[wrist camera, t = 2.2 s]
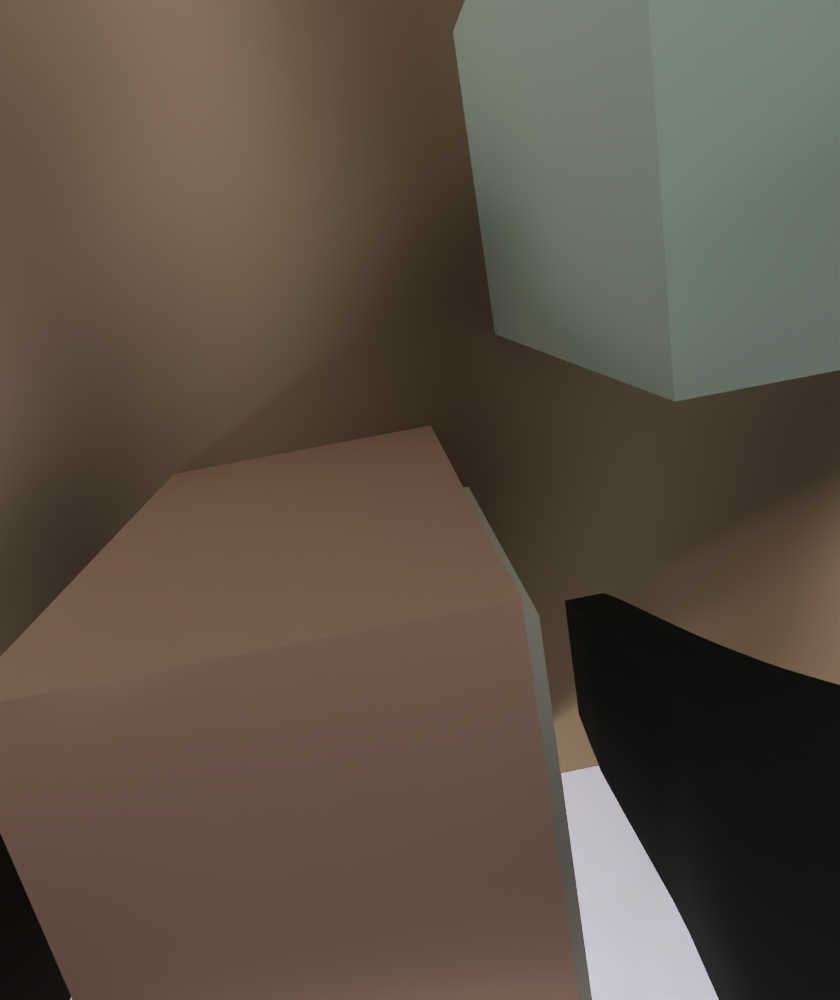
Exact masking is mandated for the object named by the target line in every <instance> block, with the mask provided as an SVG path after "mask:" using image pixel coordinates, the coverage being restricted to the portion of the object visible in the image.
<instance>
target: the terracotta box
mask: <svg viewBox="0 0 840 1000" xmlns="http://www.w3.org/2000/svg"><path fill="white" fill-rule="evenodd" d="M0 833H1V836H2V838H3V840H4V843H5V845H6V847H7V850H8V852H9V854H10V856H11V859H12V861H13V863H14V866H15V868H16V870H17V873H18V875H19V877H20V880H21V882H22V884H23V886H24V889H25V891H26V893H27V896H28V898H29V900H30V903H31V905H32V907H33V909H34V912H35V914H36V916H37V919H38V921H39V923H40V926H41V928H42V930H43V933H44V935H45V937H46V939H47V942H48V944H49V946H50V949H51V951H52V953H53V956H54V958H55V960H56V962H57V965H58V967H59V969H60V972H61V974H62V976H63V979H64V981H65V983H66V986H67V988H68V990H69V992H70V995H71V997H72V999H73V1000H592V998H591V991H590V983H589V976H588V969H587V962H586V954H585V947H584V940H583V932H582V925H581V918H580V910H579V903H578V896H577V888H576V881H575V874H574V867H573V859H572V852H571V845H570V837H569V830H568V823H567V815H566V808H565V801H564V793H563V786H562V779H561V772H560V764H559V757H558V750H557V742H556V735H555V728H554V720H553V713H552V706H551V698H550V691H549V684H548V677H547V669H546V662H545V655H544V647H543V640H542V633H541V625H540V618H539V614H538V612H537V610H536V608H535V606H534V605H533V603H532V601H531V599H530V597H529V596H528V594H527V592H526V590H525V588H524V587H523V585H522V583H521V581H520V579H519V577H518V576H517V574H516V572H515V570H514V568H513V567H512V565H511V563H510V561H509V559H508V557H507V556H506V554H505V552H504V550H503V548H502V547H501V545H500V543H499V541H498V539H497V537H496V536H495V534H494V532H493V530H492V528H491V527H490V525H489V523H488V521H487V519H486V517H485V516H484V514H483V512H482V510H481V508H480V507H479V505H478V503H477V501H476V499H475V498H474V496H473V494H472V492H471V490H470V488H469V487H463V486H462V484H461V482H460V480H459V478H458V476H457V474H456V473H455V471H454V469H453V467H452V465H451V463H450V461H449V459H448V457H447V455H446V453H445V452H444V450H443V448H442V446H441V444H440V442H439V440H438V438H437V436H436V434H435V432H434V430H433V429H432V427H431V425H430V426H425V427H420V428H414V429H409V430H404V431H398V432H393V433H388V434H383V435H377V436H372V437H367V438H361V439H356V440H351V441H346V442H340V443H335V444H330V445H325V446H319V447H314V448H309V449H303V450H298V451H293V452H288V453H282V454H277V455H272V456H267V457H261V458H256V459H251V460H245V461H240V462H235V463H230V464H224V465H219V466H214V467H209V468H203V469H198V470H193V471H187V472H182V473H177V474H173V475H172V476H171V477H170V479H169V480H168V481H167V482H166V483H165V484H164V485H163V486H162V487H161V488H160V489H159V490H158V491H157V492H156V493H155V494H154V495H153V496H152V498H151V499H150V500H149V501H148V502H147V503H146V504H145V505H144V506H143V507H142V508H141V509H140V510H139V511H138V512H137V513H136V514H135V515H134V516H133V518H132V519H131V520H130V521H129V522H128V523H127V524H126V525H125V526H124V527H123V528H122V529H121V530H120V531H119V532H118V533H117V534H116V535H115V536H114V538H113V539H112V540H111V541H110V542H109V543H108V544H107V545H106V546H105V547H104V548H103V549H102V550H101V551H100V552H99V553H98V554H97V555H96V557H95V558H94V559H93V560H92V561H91V562H90V563H89V564H88V565H87V566H86V567H85V568H84V569H83V570H82V571H81V572H80V573H79V574H78V575H77V577H76V578H75V579H74V580H73V581H72V582H71V583H70V584H69V585H68V586H67V587H66V588H65V589H64V590H63V591H62V592H61V593H60V594H59V595H58V597H57V598H56V599H55V600H54V601H53V602H52V603H51V604H50V605H49V606H48V607H47V608H46V609H45V610H44V611H43V612H42V613H41V614H40V616H39V617H38V618H37V619H36V620H35V621H34V622H33V623H32V624H31V625H30V626H29V627H28V628H27V629H26V630H25V631H24V632H23V633H22V634H21V636H20V637H19V638H18V639H17V640H16V641H15V642H14V643H13V644H12V645H11V646H10V647H9V648H8V649H7V650H6V651H5V652H4V653H3V654H2V656H1V657H0Z"/></svg>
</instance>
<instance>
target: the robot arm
mask: <svg viewBox="0 0 840 1000" xmlns="http://www.w3.org/2000/svg"><path fill="white" fill-rule="evenodd" d="M565 607H566V615H567V623H568V631H569V639H570V647H571V656H572V664H573V672H574V680H575V688H576V696H577V704H578V712H579V716H580V719H581V722H582V724H583V727H584V729H585V732H586V735H587V737H588V740H589V742H590V745H591V747H592V750H593V752H594V755H595V757H596V760H597V762H598V764H599V767H600V769H601V771H602V773H603V775H604V777H605V779H606V781H607V783H608V784H609V786H610V788H611V790H612V792H613V793H614V795H615V797H616V799H617V801H618V802H619V804H620V806H621V808H622V810H623V812H624V813H625V815H626V817H627V819H628V820H629V822H630V824H631V826H632V828H633V829H634V831H635V833H636V835H637V837H638V838H639V840H640V842H641V844H642V845H643V847H644V849H645V851H646V853H647V854H648V856H649V858H650V860H651V861H652V863H653V865H654V867H655V869H656V870H657V872H658V874H659V876H660V878H661V879H662V881H663V883H664V885H665V886H666V888H667V890H668V892H669V894H670V895H671V897H672V899H673V901H674V903H675V905H676V907H677V909H678V911H679V913H680V915H681V917H682V919H683V921H684V923H685V924H686V926H687V928H688V930H689V932H690V935H691V937H692V939H693V941H694V944H695V946H696V948H697V951H698V953H699V955H700V957H701V960H702V962H703V964H704V966H705V969H706V971H707V973H708V976H709V978H710V980H711V982H712V985H713V987H714V989H715V991H716V994H717V996H718V998H719V1000H840V685H838V684H834V683H831V682H828V681H824V680H821V679H818V678H814V677H811V676H807V675H804V674H801V673H797V672H794V671H790V670H787V669H784V668H781V667H778V666H775V665H772V664H769V663H766V662H764V661H761V660H758V659H756V658H753V657H750V656H748V655H745V654H742V653H740V652H737V651H735V650H732V649H729V648H727V647H724V646H722V645H719V644H717V643H715V642H712V641H710V640H707V639H705V638H703V637H700V636H698V635H696V634H693V633H691V632H689V631H687V630H685V629H682V628H680V627H678V626H676V625H674V624H671V623H669V622H667V621H665V620H663V619H661V618H659V617H656V616H654V615H652V614H650V613H648V612H646V611H644V610H642V609H640V608H638V607H635V606H633V605H631V604H629V603H627V602H625V601H623V600H620V599H618V598H616V597H613V596H611V595H608V594H606V593H601V594H596V595H590V596H585V597H580V598H575V599H570V600H565ZM70 998H71V995H70V992H69V990H68V988H67V986H66V983H65V981H64V979H63V976H62V974H61V972H60V969H59V967H58V965H57V962H56V960H55V958H54V956H53V953H52V951H51V949H50V946H49V944H48V942H47V939H46V937H45V935H44V933H43V930H42V928H41V926H40V923H39V921H38V919H37V916H36V914H35V912H34V909H33V907H32V905H31V903H30V900H29V898H28V896H27V893H26V891H25V889H24V886H23V884H22V882H21V880H20V877H19V875H18V873H17V870H16V868H15V866H14V863H13V861H12V859H11V856H10V854H9V852H8V850H7V847H6V845H5V843H4V840H3V838H2V836H1V833H0V1000H70Z"/></svg>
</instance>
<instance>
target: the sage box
mask: <svg viewBox="0 0 840 1000" xmlns="http://www.w3.org/2000/svg"><path fill="white" fill-rule="evenodd" d="M453 36H454V43H455V50H456V58H457V65H458V72H459V79H460V86H461V94H462V101H463V108H464V115H465V122H466V129H467V137H468V144H469V151H470V158H471V165H472V173H473V180H474V187H475V194H476V201H477V209H478V216H479V223H480V230H481V237H482V244H483V252H484V259H485V266H486V273H487V280H488V288H489V295H490V302H491V309H492V316H493V323H494V331H495V334H496V335H498V336H501V337H504V338H506V339H509V340H512V341H514V342H517V343H520V344H522V345H525V346H528V347H530V348H533V349H536V350H538V351H541V352H544V353H546V354H549V355H552V356H554V357H557V358H560V359H562V360H565V361H568V362H570V363H573V364H576V365H578V366H581V367H584V368H586V369H589V370H592V371H594V372H597V373H600V374H602V375H605V376H608V377H611V378H613V379H616V380H619V381H621V382H624V383H627V384H629V385H632V386H635V387H637V388H640V389H643V390H645V391H648V392H651V393H653V394H656V395H659V396H661V397H664V398H667V399H669V400H672V401H680V400H685V399H691V398H696V397H701V396H706V395H712V394H717V393H722V392H727V391H733V390H738V389H743V388H748V387H754V386H759V385H764V384H769V383H775V382H780V381H785V380H790V379H796V378H801V377H806V376H811V375H817V374H822V373H827V372H832V371H838V370H840V0H465V1H464V4H463V7H462V9H461V12H460V14H459V17H458V20H457V22H456V25H455V27H454V30H453Z"/></svg>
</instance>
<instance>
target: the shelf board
mask: <svg viewBox="0 0 840 1000" xmlns="http://www.w3.org/2000/svg"><path fill="white" fill-rule="evenodd" d="M464 1H465V0H0V657H1V656H2V654H3V653H4V652H5V651H6V650H7V649H8V648H9V647H10V646H11V645H12V644H13V643H14V642H15V641H16V640H17V639H18V638H19V637H20V636H21V634H22V633H23V632H24V631H25V630H26V629H27V628H28V627H29V626H30V625H31V624H32V623H33V622H34V621H35V620H36V619H37V618H38V617H39V616H40V614H41V613H42V612H43V611H44V610H45V609H46V608H47V607H48V606H49V605H50V604H51V603H52V602H53V601H54V600H55V599H56V598H57V597H58V595H59V594H60V593H61V592H62V591H63V590H64V589H65V588H66V587H67V586H68V585H69V584H70V583H71V582H72V581H73V580H74V579H75V578H76V577H77V575H78V574H79V573H80V572H81V571H82V570H83V569H84V568H85V567H86V566H87V565H88V564H89V563H90V562H91V561H92V560H93V559H94V558H95V557H96V555H97V554H98V553H99V552H100V551H101V550H102V549H103V548H104V547H105V546H106V545H107V544H108V543H109V542H110V541H111V540H112V539H113V538H114V536H115V535H116V534H117V533H118V532H119V531H120V530H121V529H122V528H123V527H124V526H125V525H126V524H127V523H128V522H129V521H130V520H131V519H132V518H133V516H134V515H135V514H136V513H137V512H138V511H139V510H140V509H141V508H142V507H143V506H144V505H145V504H146V503H147V502H148V501H149V500H150V499H151V498H152V496H153V495H154V494H155V493H156V492H157V491H158V490H159V489H160V488H161V487H162V486H163V485H164V484H165V483H166V482H167V481H168V480H169V479H170V477H171V476H172V475H173V474H177V473H182V472H187V471H193V470H198V469H203V468H209V467H214V466H219V465H224V464H230V463H235V462H240V461H245V460H251V459H256V458H261V457H267V456H272V455H277V454H282V453H288V452H293V451H298V450H303V449H309V448H314V447H319V446H325V445H330V444H335V443H340V442H346V441H351V440H356V439H361V438H367V437H372V436H377V435H383V434H388V433H393V432H398V431H404V430H409V429H414V428H420V427H425V426H430V425H431V427H432V429H433V430H434V432H435V434H436V436H437V438H438V440H439V442H440V444H441V446H442V448H443V450H444V452H445V453H446V455H447V457H448V459H449V461H450V463H451V465H452V467H453V469H454V471H455V473H456V474H457V476H458V478H459V480H460V482H461V484H462V486H463V487H469V488H470V490H471V492H472V494H473V496H474V498H475V499H476V501H477V503H478V505H479V507H480V508H481V510H482V512H483V514H484V516H485V517H486V519H487V521H488V523H489V525H490V527H491V528H492V530H493V532H494V534H495V536H496V537H497V539H498V541H499V543H500V545H501V547H502V548H503V550H504V552H505V554H506V556H507V557H508V559H509V561H510V563H511V565H512V567H513V568H514V570H515V572H516V574H517V576H518V577H519V579H520V581H521V583H522V585H523V587H524V588H525V590H526V592H527V594H528V596H529V597H530V599H531V601H532V603H533V605H534V606H535V608H536V610H537V612H538V614H539V618H540V625H541V633H542V640H543V647H544V655H545V662H546V669H547V677H548V684H549V691H550V698H551V706H552V713H553V720H554V728H555V735H556V742H557V750H558V757H559V764H560V772H561V773H564V772H569V771H573V770H578V769H583V768H588V767H593V766H598V765H599V764H598V762H597V760H596V757H595V755H594V752H593V750H592V747H591V745H590V742H589V740H588V737H587V735H586V732H585V729H584V727H583V724H582V722H581V719H580V716H579V712H578V704H577V696H576V688H575V680H574V672H573V664H572V656H571V647H570V639H569V631H568V623H567V615H566V607H565V600H570V599H575V598H580V597H585V596H590V595H596V594H601V593H606V594H608V595H611V596H613V597H616V598H618V599H620V600H623V601H625V602H627V603H629V604H631V605H633V606H635V607H638V608H640V609H642V610H644V611H646V612H648V613H650V614H652V615H654V616H656V617H659V618H661V619H663V620H665V621H667V622H669V623H671V624H674V625H676V626H678V627H680V628H682V629H685V630H687V631H689V632H691V633H693V634H696V635H698V636H700V637H703V638H705V639H707V640H710V641H712V642H715V643H717V644H719V645H722V646H724V647H727V648H729V649H732V650H735V651H737V652H740V653H742V654H745V655H748V656H750V657H753V658H756V659H758V660H761V661H764V662H766V663H769V664H772V665H775V666H778V667H781V668H784V669H787V670H790V671H794V672H797V673H801V674H804V675H807V676H811V677H814V678H818V679H821V680H824V681H828V682H831V683H834V684H838V685H840V370H838V371H832V372H827V373H822V374H817V375H811V376H806V377H801V378H796V379H790V380H785V381H780V382H775V383H769V384H764V385H759V386H754V387H748V388H743V389H738V390H733V391H727V392H722V393H717V394H712V395H706V396H701V397H696V398H691V399H685V400H680V401H672V400H669V399H667V398H664V397H661V396H659V395H656V394H653V393H651V392H648V391H645V390H643V389H640V388H637V387H635V386H632V385H629V384H627V383H624V382H621V381H619V380H616V379H613V378H611V377H608V376H605V375H602V374H600V373H597V372H594V371H592V370H589V369H586V368H584V367H581V366H578V365H576V364H573V363H570V362H568V361H565V360H562V359H560V358H557V357H554V356H552V355H549V354H546V353H544V352H541V351H538V350H536V349H533V348H530V347H528V346H525V345H522V344H520V343H517V342H514V341H512V340H509V339H506V338H504V337H501V336H498V335H496V334H495V331H494V323H493V316H492V309H491V302H490V295H489V288H488V280H487V273H486V266H485V259H484V252H483V244H482V237H481V230H480V223H479V216H478V209H477V201H476V194H475V187H474V180H473V173H472V165H471V158H470V151H469V144H468V137H467V129H466V122H465V115H464V108H463V101H462V94H461V86H460V79H459V72H458V65H457V58H456V50H455V43H454V36H453V30H454V27H455V25H456V22H457V20H458V17H459V14H460V12H461V9H462V7H463V4H464Z"/></svg>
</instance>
